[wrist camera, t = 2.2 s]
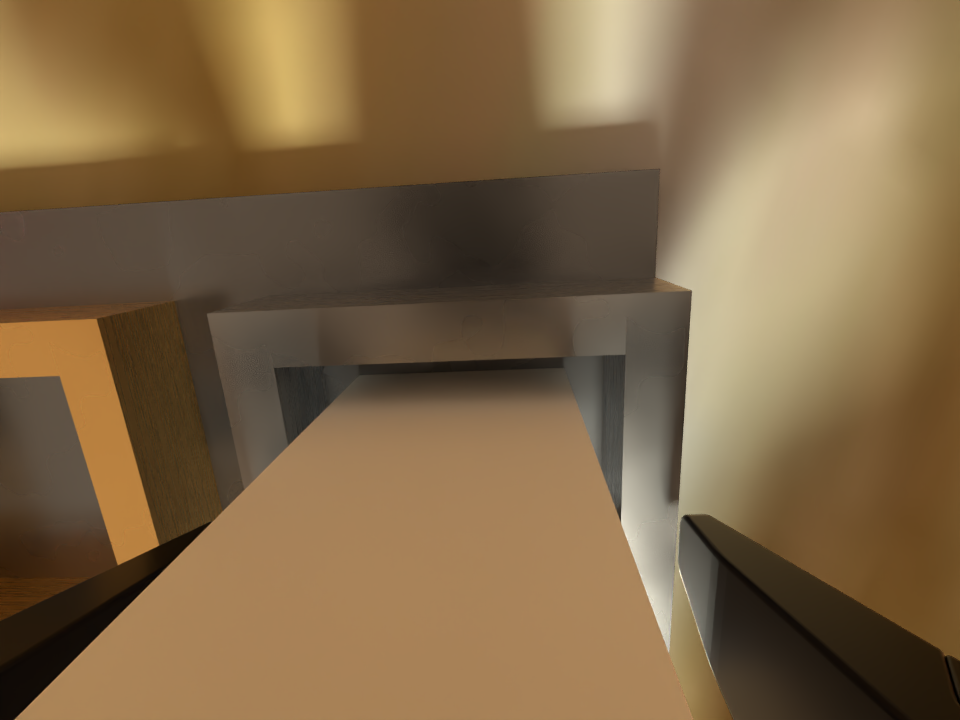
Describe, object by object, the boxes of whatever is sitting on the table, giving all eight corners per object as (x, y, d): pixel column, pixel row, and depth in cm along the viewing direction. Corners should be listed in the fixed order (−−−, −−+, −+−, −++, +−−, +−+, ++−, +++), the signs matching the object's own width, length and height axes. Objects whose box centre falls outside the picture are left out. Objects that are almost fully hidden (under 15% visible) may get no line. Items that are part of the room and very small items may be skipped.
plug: (563, 367, 10) (753, 881, 2) (566, 547, 11) (693, 1295, 3) (358, 375, 10) (-110, 843, 3) (382, 548, 12) (109, 1233, 4)
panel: (644, 174, 10) (700, 153, 7) (629, 641, 13) (662, 759, 10) (-141, 225, 11) (-365, 226, 8) (20, 637, 14) (-102, 740, 12)
